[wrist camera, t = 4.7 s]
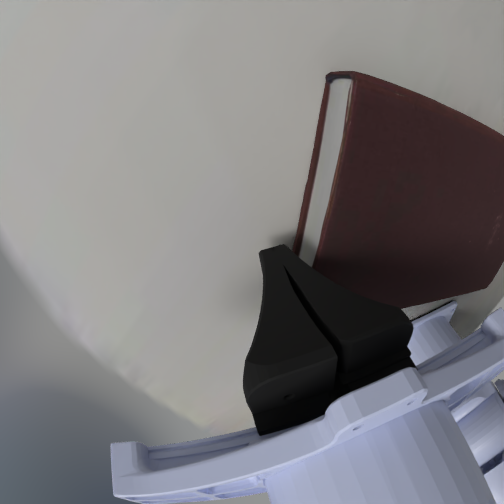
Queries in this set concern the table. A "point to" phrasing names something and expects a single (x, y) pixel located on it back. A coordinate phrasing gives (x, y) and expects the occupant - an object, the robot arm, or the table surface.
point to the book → (401, 195)
